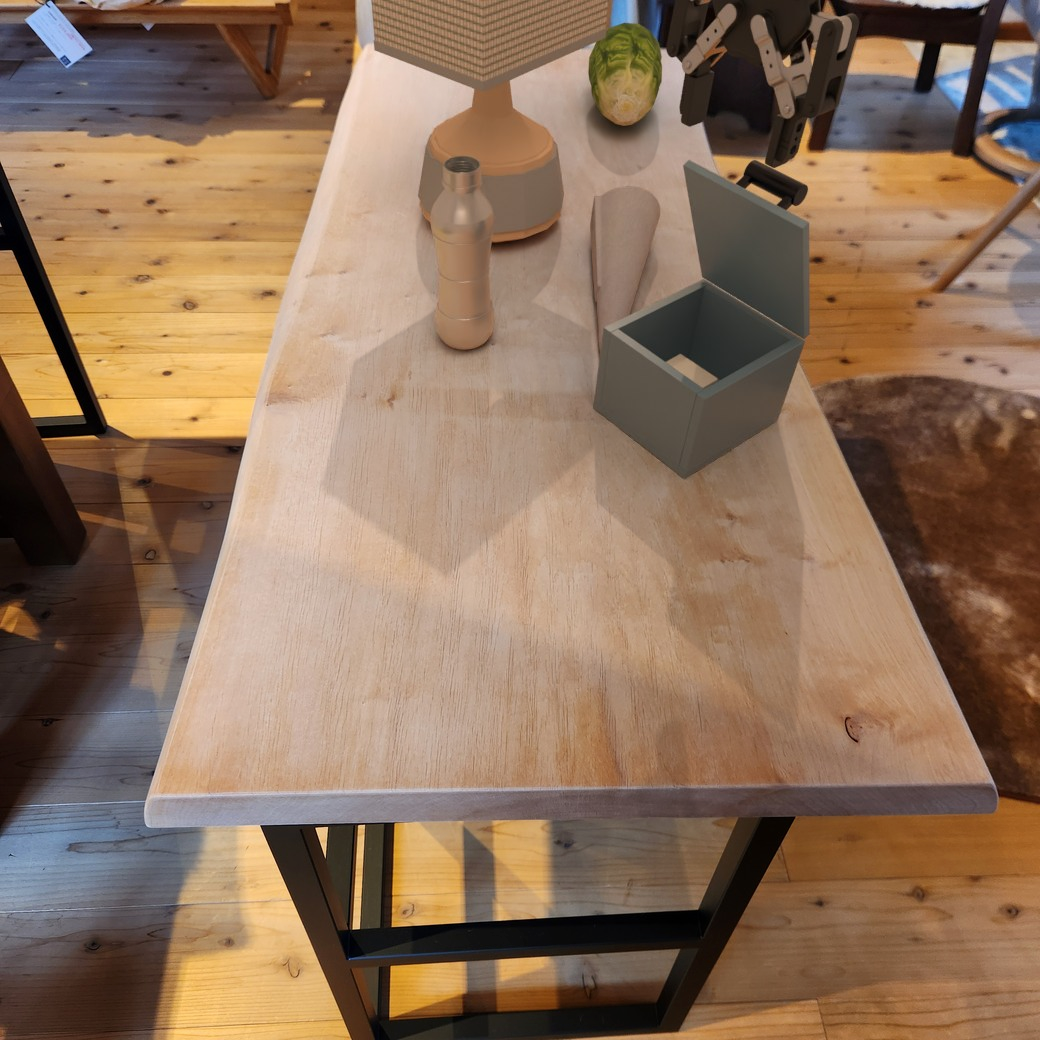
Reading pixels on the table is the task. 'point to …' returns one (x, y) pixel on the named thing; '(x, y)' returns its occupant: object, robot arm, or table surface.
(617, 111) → the lettuce
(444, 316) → the plastic bottle
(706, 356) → the grey box
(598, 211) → the beige long cone
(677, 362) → the tan cube
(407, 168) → the table surface
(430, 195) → the desk lamp
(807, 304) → the lid
